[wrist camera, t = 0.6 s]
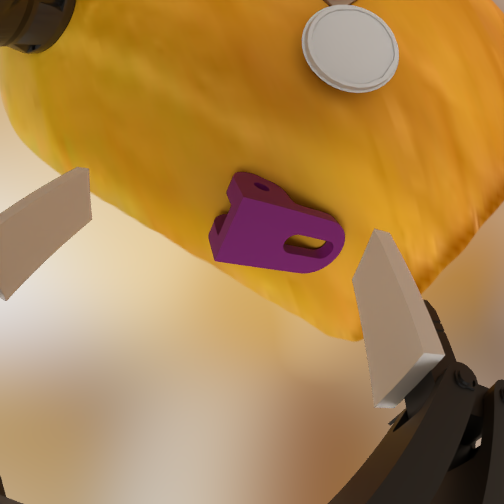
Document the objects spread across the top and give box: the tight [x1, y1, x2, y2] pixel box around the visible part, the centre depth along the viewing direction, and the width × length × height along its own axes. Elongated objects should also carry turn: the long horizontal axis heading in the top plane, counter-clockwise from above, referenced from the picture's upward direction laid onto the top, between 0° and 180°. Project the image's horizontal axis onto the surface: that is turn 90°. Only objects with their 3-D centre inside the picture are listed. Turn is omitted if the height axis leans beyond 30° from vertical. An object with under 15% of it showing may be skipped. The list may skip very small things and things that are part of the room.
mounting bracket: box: [209, 172, 345, 273], centre depth 41 cm, size 10×8×18 cm
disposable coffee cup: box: [302, 5, 399, 93], centre depth 25 cm, size 10×10×12 cm
